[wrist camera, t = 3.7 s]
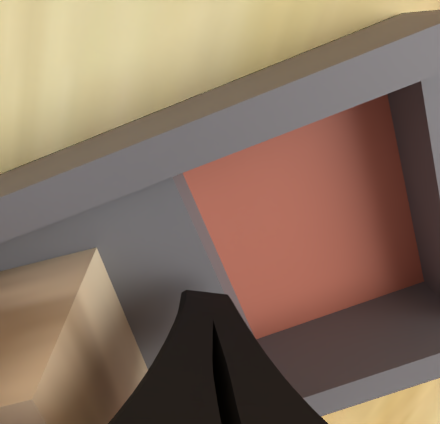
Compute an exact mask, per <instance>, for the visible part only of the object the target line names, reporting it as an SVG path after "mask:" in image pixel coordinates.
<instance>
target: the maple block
mask: <svg viewBox="0 0 440 424" xmlns="http://www.w3.org/2000/svg"><path fill="white" fill-rule="evenodd" d="M147 371H148V369H147V366H146V364H145V361H144V359H143V357H142V354H141V352H140V350H139V347H138V345H137V342H136V340H135V338H134V335H133V333H132V330H131V328H130V326H129V323H128V321H127V319H126V316H125V314H124V311H123V309H122V307H121V304H120V302H119V299H118V297H117V295H116V292H115V290H114V288H113V285H112V283H111V280H110V278H109V276H108V273H107V271H106V268H105V266H104V264H103V261H102V259H101V257H100V254H99V252H98V249H97V247H96V248H92V249H88V250H84V251H80V252H76V253H72V254H68V255H64V256H60V257H56V258H52V259H48V260H44V261H40V262H36V263H32V264H28V265H24V266H20V267H16V268H12V269H8V270H4V271H0V424H108V423H109V422H110V421H111V419H112V418H113V417H114V416H115V415H116V413H117V412H118V411H119V409H120V408H121V407H122V406H123V404H124V403H125V402H126V401H127V399H128V398H129V397H130V395H131V394H132V393H133V391H134V390H135V389H136V387H137V386H138V384H139V383H140V381H141V380H142V379H143V377H144V376H145V374H146V373H147Z"/></svg>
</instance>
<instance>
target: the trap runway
mask: <svg viewBox="0 0 440 424" xmlns="http://www.w3.org/2000/svg"><path fill="white" fill-rule="evenodd" d="M96 247H97V249H98V252H99V254H100V257H101V259H102V261H103V264H104V266H105V268H106V271H107V273H108V276H109V278H110V280H111V283H112V285H113V288H114V290H115V292H116V295H117V297H118V299H119V302H120V304H121V307H122V309H123V311H124V314H125V316H126V319H127V321H128V323H129V326H130V328H131V330H132V333H133V335H134V338H135V340H136V342H137V345H138V347H139V350H140V352H141V354H142V357H143V359H144V361H145V364H146V366H147V369H149V368H150V366H151V365H152V363H153V361H154V360H155V358H156V356H157V354H158V353H159V351H160V349H161V347H162V346H163V344H164V342H165V340H166V338H167V336H168V334H169V332H170V330H171V327H172V325H173V323H174V321H175V318H176V315H177V313H178V309H179V303H180V297H181V293H182V292H183V291H185V290H193V291H202V292H211V293H219V294H228V295H229V297H230V298H231V300H232V301H233V303H234V305H235V306H236V308H237V310H238V311H239V313H240V315H241V316H242V318H243V320H244V321H245V323H246V324H247V326H248V328H249V329H250V331H251V332H252V334H253V335H254V337H255V338H256V340H257V341H258V343H259V344H260V345H261V347H262V348H263V350H264V351H265V353H266V354H267V355H268V357H269V358H270V359H271V361H272V362H273V363H274V365H275V366H276V367H277V369H278V370H279V371H280V372H281V374H282V375H283V376H284V377H285V379H286V380H287V381H288V382H289V383H290V385H291V386H292V387H293V388H294V389H295V390H296V391H297V392H298V393H299V394H300V396H301V397H302V398H303V399H304V400H305V401H306V402H307V403H308V404H309V405H310V406H311V407H312V408H313V409H314V410H315V411H316V412H317V413H318V414H319V415H320V416H324V415H327V414H330V413H333V412H336V411H339V410H342V409H345V408H348V407H351V406H354V405H357V404H361V403H364V402H367V401H370V400H373V399H376V398H379V397H382V396H385V395H388V394H391V393H394V392H398V391H401V390H404V389H407V388H410V387H413V386H416V385H419V384H422V383H425V382H428V381H431V380H434V379H438V378H440V10H433V11H421V12H410V13H401V14H399V15H397V16H394V17H392V18H389V19H387V20H384V21H382V22H379V23H377V24H374V25H372V26H369V27H367V28H364V29H362V30H359V31H357V32H354V33H352V34H349V35H347V36H344V37H342V38H339V39H337V40H334V41H332V42H329V43H327V44H324V45H322V46H319V47H317V48H314V49H312V50H309V51H307V52H304V53H302V54H299V55H297V56H294V57H292V58H289V59H287V60H284V61H282V62H279V63H277V64H274V65H272V66H269V67H267V68H264V69H262V70H259V71H257V72H254V73H252V74H249V75H247V76H244V77H242V78H239V79H237V80H234V81H232V82H229V83H227V84H224V85H222V86H219V87H217V88H214V89H212V90H209V91H207V92H204V93H202V94H200V95H197V96H195V97H192V98H190V99H187V100H185V101H182V102H180V103H177V104H175V105H172V106H170V107H167V108H165V109H162V110H160V111H157V112H155V113H152V114H150V115H147V116H145V117H142V118H140V119H137V120H135V121H132V122H130V123H127V124H125V125H122V126H120V127H117V128H115V129H112V130H110V131H107V132H105V133H102V134H100V135H97V136H95V137H92V138H90V139H87V140H85V141H82V142H80V143H77V144H75V145H72V146H70V147H67V148H65V149H62V150H60V151H57V152H55V153H52V154H50V155H47V156H45V157H42V158H40V159H37V160H35V161H32V162H30V163H27V164H25V165H22V166H20V167H17V168H15V169H12V170H10V171H8V172H5V173H3V174H0V271H4V270H8V269H12V268H16V267H20V266H24V265H28V264H32V263H36V262H40V261H44V260H48V259H52V258H56V257H60V256H64V255H68V254H72V253H76V252H80V251H84V250H88V249H92V248H96Z"/></svg>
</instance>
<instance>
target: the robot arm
mask: <svg viewBox="0 0 440 424" xmlns="http://www.w3.org/2000/svg"><path fill="white" fill-rule="evenodd" d="M108 424H328V423H327V422H326V421H325V420H324V419H323V418H322V417H321V416H320V415H319V414H318V413H317V412H316V411H315V410H314V409H313V408H312V407H311V406H310V405H309V404H308V403H307V402H306V401H305V400H304V399H303V398H302V397H301V396H300V394H299V393H298V392H297V391H296V390H295V389H294V388H293V387H292V386H291V385H290V383H289V382H288V381H287V380H286V379H285V377H284V376H283V375H282V374H281V372H280V371H279V370H278V369H277V367H276V366H275V365H274V363H273V362H272V361H271V359H270V358H269V357H268V355H267V354H266V353H265V351H264V350H263V348H262V347H261V345H260V344H259V343H258V341H257V340H256V338H255V337H254V335H253V334H252V332H251V331H250V329H249V328H248V326H247V324H246V323H245V321H244V320H243V318H242V316H241V315H240V313H239V311H238V310H237V308H236V306H235V305H234V303H233V301H232V300H231V298H230V297H229V295H228V294H219V293H211V292H202V291H193V290H185V291H183V292H182V293H181V297H180V303H179V309H178V313H177V315H176V318H175V321H174V323H173V325H172V327H171V330H170V332H169V334H168V336H167V338H166V340H165V342H164V344H163V346H162V347H161V349H160V351H159V353H158V354H157V356H156V358H155V360H154V361H153V363H152V365H151V366H150V368H149V369H148V371H147V373H146V374H145V376H144V377H143V379H142V380H141V381H140V383H139V384H138V386H137V387H136V389H135V390H134V391H133V393H132V394H131V395H130V397H129V398H128V399H127V401H126V402H125V403H124V404H123V406H122V407H121V408H120V409H119V411H118V412H117V413H116V415H115V416H114V417H113V418H112V419H111V421H110V422H109V423H108Z"/></svg>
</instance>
